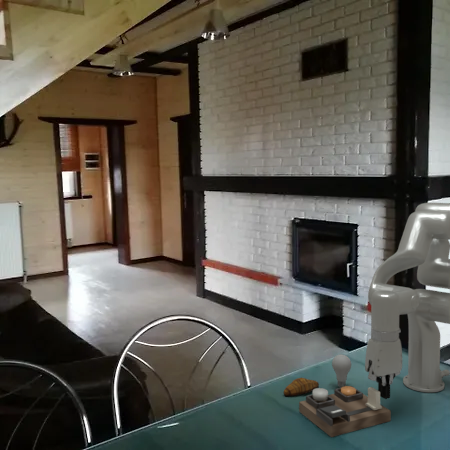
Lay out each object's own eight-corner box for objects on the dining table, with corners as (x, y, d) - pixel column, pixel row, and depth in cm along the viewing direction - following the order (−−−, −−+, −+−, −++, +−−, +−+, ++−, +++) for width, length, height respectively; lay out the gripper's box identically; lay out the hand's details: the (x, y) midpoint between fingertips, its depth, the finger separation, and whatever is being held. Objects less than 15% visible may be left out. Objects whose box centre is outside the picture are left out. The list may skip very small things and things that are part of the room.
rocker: (333, 408, 141) (332, 405, 141) (346, 414, 136) (345, 410, 136) (319, 412, 139) (319, 408, 139) (332, 418, 134) (332, 413, 134)
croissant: (291, 401, 155) (290, 386, 155) (278, 393, 161) (278, 378, 161) (325, 391, 162) (324, 376, 161) (311, 384, 168) (311, 369, 167)
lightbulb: (351, 392, 160) (351, 358, 159) (332, 391, 161) (332, 358, 160) (350, 384, 166) (350, 352, 165) (332, 383, 167) (331, 351, 166)
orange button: (349, 390, 153) (349, 385, 153) (359, 396, 149) (359, 390, 149) (337, 393, 152) (337, 387, 152) (346, 399, 148) (346, 393, 147)
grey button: (322, 392, 149) (322, 387, 149) (331, 398, 145) (331, 392, 145) (309, 395, 148) (309, 390, 147) (318, 401, 144) (318, 395, 143)
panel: (354, 398, 156) (354, 383, 156) (390, 420, 141) (390, 404, 141) (298, 411, 148) (298, 396, 148) (330, 437, 134) (330, 420, 133)
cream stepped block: (373, 403, 145) (373, 386, 145) (382, 408, 142) (382, 391, 142) (365, 405, 144) (365, 388, 144) (374, 410, 141) (374, 393, 140)
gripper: (396, 327, 149) (395, 387, 151) (354, 334, 143) (354, 396, 145) (415, 334, 142) (413, 397, 144) (372, 342, 136) (371, 407, 138)
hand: (384, 396), depth 144 cm, fingers closed
